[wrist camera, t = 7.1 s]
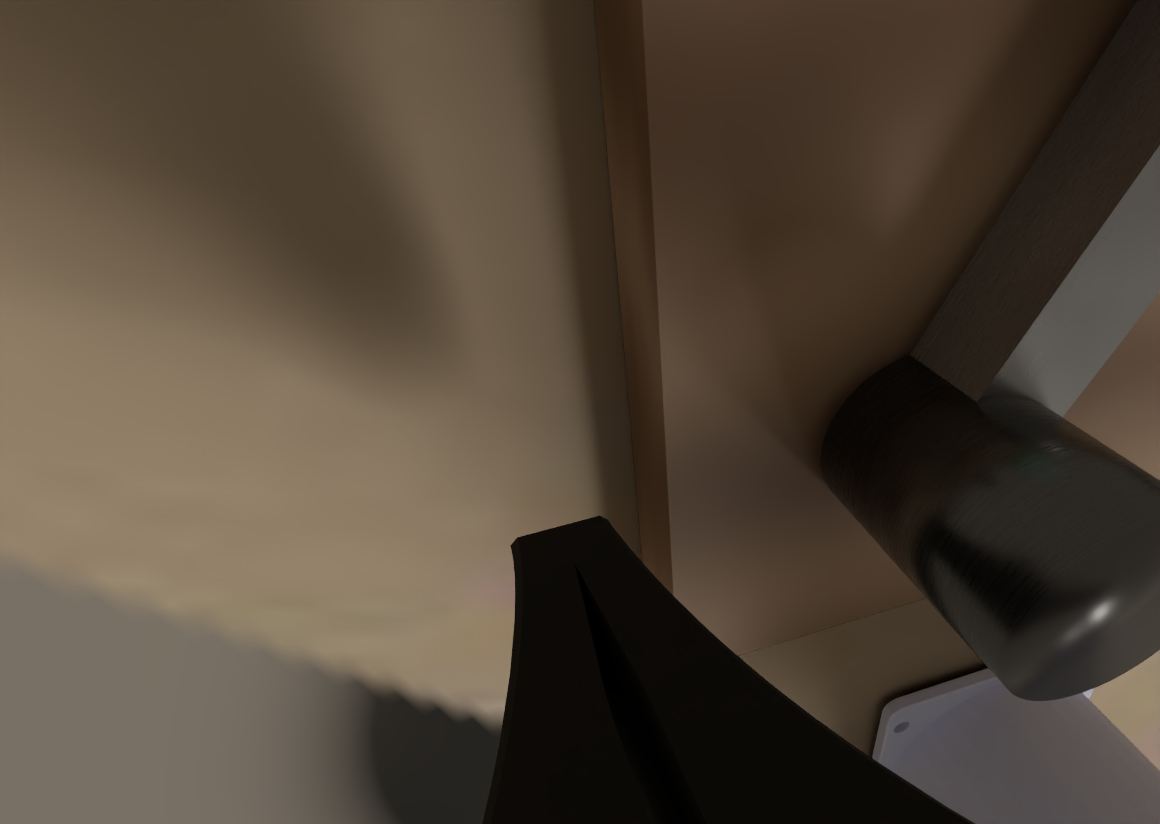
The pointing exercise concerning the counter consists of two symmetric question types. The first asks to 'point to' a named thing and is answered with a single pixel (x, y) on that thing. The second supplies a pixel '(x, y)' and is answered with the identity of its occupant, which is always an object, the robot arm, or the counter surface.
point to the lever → (1030, 408)
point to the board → (815, 263)
